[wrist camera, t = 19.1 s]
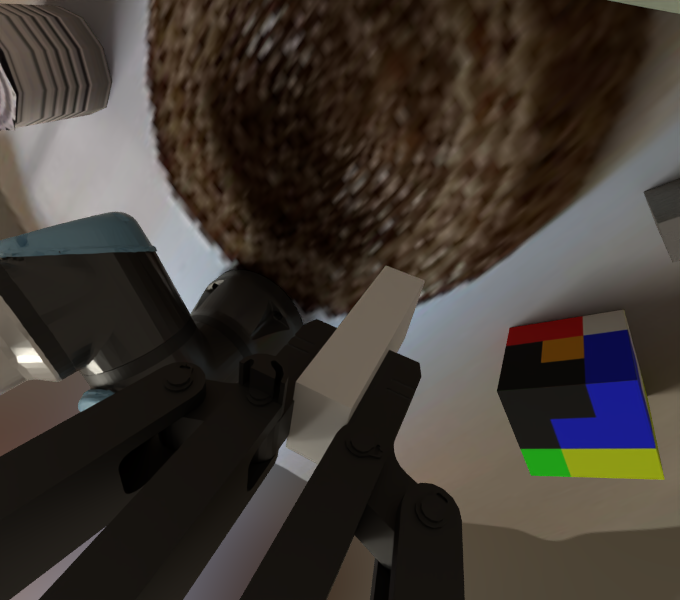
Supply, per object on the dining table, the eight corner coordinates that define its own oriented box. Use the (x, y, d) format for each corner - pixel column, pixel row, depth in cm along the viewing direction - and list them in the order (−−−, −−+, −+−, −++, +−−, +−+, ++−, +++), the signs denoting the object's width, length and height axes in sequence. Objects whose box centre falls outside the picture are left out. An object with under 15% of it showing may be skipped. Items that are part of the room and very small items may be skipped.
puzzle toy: (623, 309, 38) (637, 380, 30) (647, 395, 41) (664, 479, 34) (509, 327, 44) (496, 391, 36) (537, 402, 47) (531, 475, 39)
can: (121, 53, 47) (12, 59, 38) (102, 135, 54) (7, 156, 45) (43, -20, 47) (-87, -32, 37) (34, 72, 54) (-76, 81, 45)
